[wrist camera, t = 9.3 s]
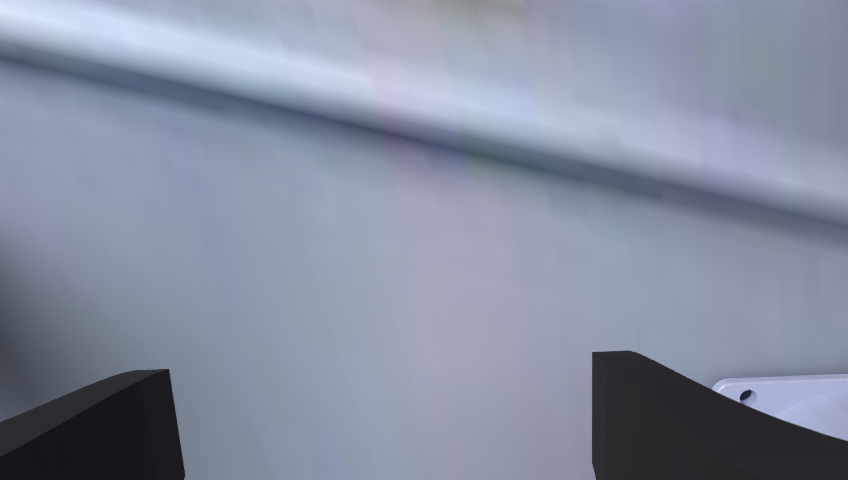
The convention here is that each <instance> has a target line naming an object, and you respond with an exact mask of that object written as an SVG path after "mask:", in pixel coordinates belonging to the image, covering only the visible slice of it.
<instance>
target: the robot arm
mask: <svg viewBox="0 0 848 480" xmlns="http://www.w3.org/2000/svg"><path fill="white" fill-rule="evenodd" d="M746 390H752V393H751V396H750V397H748V398H747V399H745V400H740V399H739V398H740V395H741V394H742V393H743V392H744V391H746ZM592 464H593V468H594V472H595V476H596V480H848V374H829V375H803V376H776V377H750V378H727V379H723V380H720V381H719V382H717V383H716V384H715V385H714V386H713V388H712V390H711V389H709V388H707V387H705V386H703V385H701V384H699V383H697V382H695V381H693V380H691V379H689V378H687V377H685V376H683V375H681V374H679V373H677V372H675V371H673V370H671V369H669V368H667V367H665V366H664V365H662V364H660V363H658V362H656V361H654V360H651V359H649V358H647V357H645V356H643V355H641V354H638V353H636V352H632V351H609V352H592ZM184 478H185V471H184V465H183V458H182V452H181V445H180V439H179V432H178V426H177V419H176V413H175V406H174V400H173V393H172V387H171V380H170V374H169V369H158V370H134V371H130V372H125V373H121V374H118V375H115V376H112V377H109V378H106V379H104V380H101V381H99V382H96V383H94V384H91V385H89V386H86V387H84V388H81V389H79V390H76V391H74V392H72V393H69V394H67V395H65V396H62V397H60V398H58V399H55V400H53V401H51V402H48V403H46V404H44V405H41V406H39V407H37V408H34V409H32V410H30V411H27V412H25V413H22V414H20V415H17V416H15V417H12V418H10V419H7V420H5V421H2V422H0V480H184Z"/></svg>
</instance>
